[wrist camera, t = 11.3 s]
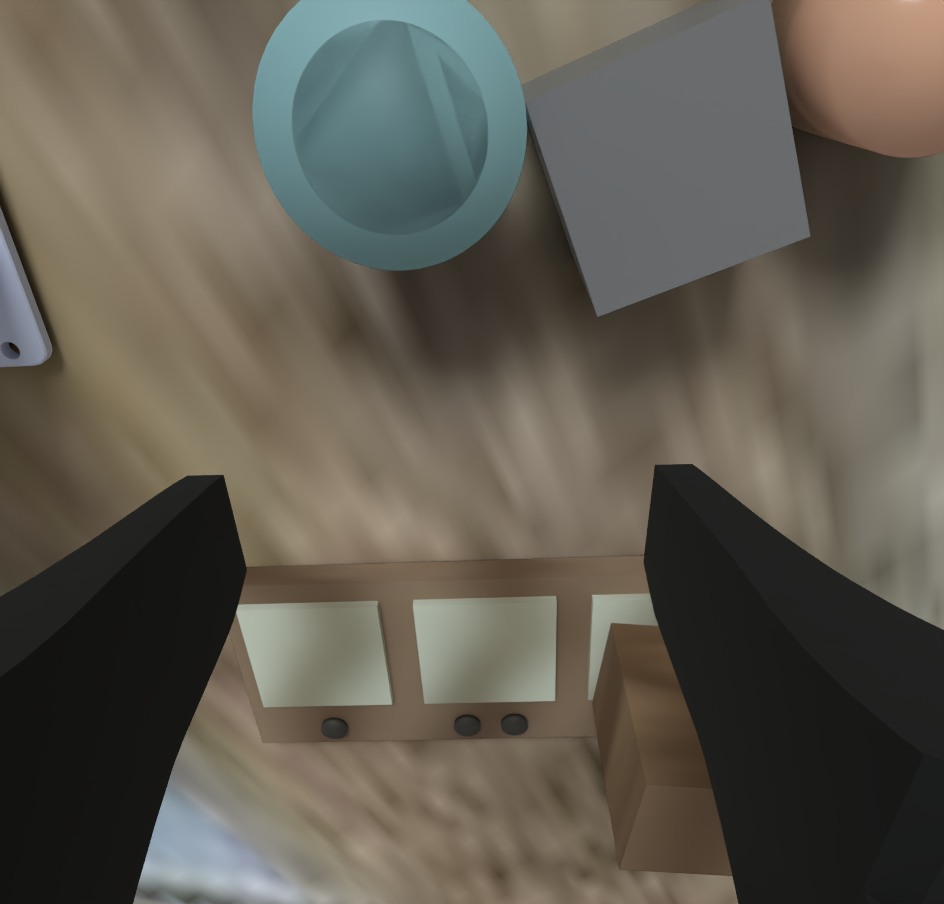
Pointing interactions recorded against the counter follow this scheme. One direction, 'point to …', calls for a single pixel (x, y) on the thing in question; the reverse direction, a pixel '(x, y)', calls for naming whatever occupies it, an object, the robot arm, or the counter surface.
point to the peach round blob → (865, 72)
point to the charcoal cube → (671, 152)
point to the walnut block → (653, 761)
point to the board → (432, 646)
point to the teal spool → (390, 127)
